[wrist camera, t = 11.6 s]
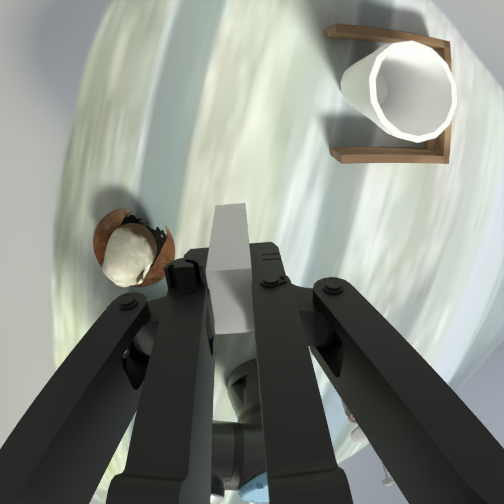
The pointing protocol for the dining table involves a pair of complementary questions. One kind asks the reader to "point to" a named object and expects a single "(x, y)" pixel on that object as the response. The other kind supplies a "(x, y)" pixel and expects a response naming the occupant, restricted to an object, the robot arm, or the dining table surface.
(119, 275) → the white and brown lump
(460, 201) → the dining table surface
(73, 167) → the dining table surface
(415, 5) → the dining table surface
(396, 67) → the foam cup
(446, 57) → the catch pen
